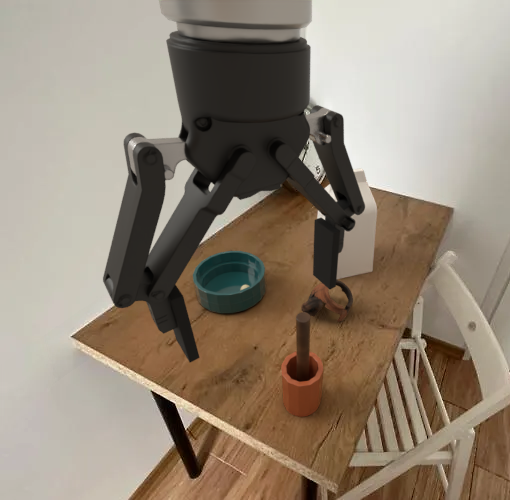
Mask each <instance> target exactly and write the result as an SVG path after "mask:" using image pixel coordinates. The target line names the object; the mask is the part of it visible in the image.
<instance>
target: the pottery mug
mask: <svg viewBox="0 0 510 500" xmlns="http://www.w3.org/2000/svg"><path fill="white" fill-rule="evenodd" d="M336 287H339V288H340V289H341V292H343V293H344V295H345V296H346V298H347V304H346V305H345V307H344V305H341V304H338V303H336V301H334V299H332V297H331V295H330V291H329V289H328V288H327V287H326V286H325V285H324V284H323V283H322V282H320V283H318V284H317V285H316V286H315V287H314V288H313V289H312V291H311V292H310V295H309V296H308V299H307V300H306V301H304V302H302V304H301V311H302V312H306V313H308V314H309V315H310V317H312V318H315V317H316V316H317V314H318V313H319V312H321V310H323V307H324V308H327V309H328V310H330V311H331V312H333V313H335V314H337V315H339V317H338V318H337V322H338V323H340V322H342V321H343V320H344V319H346V317H347V316H348V315H349V313H350V310H351V308H352V305H353V304H354V297H353V293H352V291H351V289H350V288H349V286H347V284H346V283H344V282H343V281H341V280H340V279H336ZM324 304H325V305H324Z"/></svg>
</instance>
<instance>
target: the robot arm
mask: <svg viewBox="0 0 510 500" xmlns="http://www.w3.org/2000/svg"><path fill="white" fill-rule="evenodd" d="M158 3H159V8H160V13H161V14H162V15H163V16H164V17H165V18H166V19H167V20H168V21H172V22H175V24H176V29H177V30H175V31H172V32H170V33H169V35H168V36H169V38H167V39H166V46H167V52H168V57H169V62H170V66H171V67H170V68H171V73H172V79H173V84H174V88H175V89H174V90H175V93H176V99H177V104H178V108H179V112H180V113H179V114H180V117H181V126H180V131H179V134H178V137H164V138H163V137H162V138H161V137H160V138H159V137H158V138H147V137H146V136H145V135H143V134H141V133H139V132H131V133H128V134H127V135H126V136H125V137H124V139H123V149H124V156H125V162H126V167H127V173H128V175H127V178H126V183H125V187H124V191H123V194H122V199H121V203H120V207H119V212H118V215H117V219H116V223H115V227H114V231H113V236H112V240H111V244H110V249H109V252H108V255H107V261H106V265H105V268H104V273H103V276H102V282H103V284H104V287H105V289H106V291H107V293H108V295H109V297H110V299H111V301H112V304H113V305H114V306H115V307H116V308H118V309H126V308H129V307H131V306H132V305H133V304H134V303H135V302H145V303H146V304H147V308H148V311H149V313H150V316H151V319H152V321H153V323H154V324H155V326H156V327H157V329H158V331H159V332H160V333H162V334H166V333H168V332H171V331H173V333H174V337H175V340H176V342H177V343H178V345H179V347H180V348H181V350H182V352H183V354H184V356H185V357H186V359H187V361H188V362H189V363H192V362H195V361H196V360H199V359H200V353H199V350H198V346H197V342H196V339H195V335H194V332H193V328H192V323H191V320H190V316H189V313H188V309H187V305H186V300H185V298H184V295H183V293H182V292H181V291H180V289H179V287H178V286H177V283H178V281H179V279H180V278H181V276H182V274H183V273H184V271H185V269H186V267H187V266H188V264H189V263H190V261H191V260H192V258H193V256H194V254H195V252H196V251H197V249H198V248H199V246H200V244H201V243H202V241H203V239H204V237H205V236H206V235H207V232H208V231H209V230H210V228H211V226H212V224H213V223H214V221H215V219H216V218H217V217H218V216H222V215H223V214H224V213H225V212H226V210H227V209H228V207H229V206H230V204H231V202H232V201H233V199H234V198H237V199H238V200H240V201H242V200H245V199H248V198H249V199H250V198H251V197H253V196H255V195H257V194H259V193H260V192H273V191H276V190H279V189H280V190H281V188H282V184H284V183H285V182H286V181H288V182H289V183H290V184H291V185H292V186H293V187H294V188H295V189H296V190H297V191H298V192H299V193H300V194H301V196H303V197H304V198H305V199H306V200H307V201H308V202H309V203H310V204H311V205H312V206H313V207H314V208H315V209H316V211H317V212H318V211H319V212H320V213H321V214H322V215H324V216H325V220H324V219H323V218H318V219H317V218H316V219H314V222H313V223H314V225H313V226H314V227H313V228H314V229H313V257H312V258H313V261H312V262H313V263H312V276H313V277H314V278H316V279H317V281H319V282H320V283H323V284H324V285H325V286H326V287H327V288H328V290H332V289H334V288H336V287H337V285H336V280H338V279H337V266H338V254H339V253H340V252H341V251H342V249H343V243H344V232H345V230H346V231H347V232H348V231H351V230H352V229H353V228H354V226H355V220H354V219H353V218H351V216H352V215H354V214H356V215H360V214H362V213H363V211H364V209H365V204H364V201H363V198H362V195H361V192H360V189H359V186H358V183H357V180H356V177H355V174H354V171H353V169H354V168H353V165H352V162H351V159H350V157H349V154H348V151H347V148H346V144H345V119H344V116H343V115H342V114H341V113H339V112H336V111H334V110H332V109H329V108H327V107H324V106H322V105H319V104H318V105H317V104H315V105H314V106H312V108H311V109H310V112H309V113H308V114H306V112H305V110H307V108H308V106H309V104H310V102H311V101H310V100H311V52H312V51H311V50H312V49H311V45H309V44H308V40H307V39H306V38H305V37H302V36H301V29H304V28H305V29H306V28H307V27H308V26H309V25H310V24H311V23H312V22H313V0H158ZM309 140H310V141H311V142H312V144H313V147H314V150H315V152H316V154H317V157H318V159H319V161H320V164H321V166H322V168H323V171H324V173H325V176H326V178H327V180H328V182H329V184H330V185H331V187H332V190H333V192H334V194H335V197H336V199H337V202H336V201H335V200H334V199H333V198H332V197H331V196H330V194H329V193H328V192H327V191H326V190H325V189H324V188H325V187H323V185H322V184H321V183H320V182H319V181H318V180H317V179H316V177H315V174H314V173H313V172H312V171H311V170H310V168H309V167H308V166H307V165H306V164H305V163H304V161H302V159H301V158H300V156H301V154H302V153H303V151H304V149H305V147H306V145H307V143H308V141H309ZM182 161H187V162H188V164H190V166H192V167H193V170H192V172H191V174H190V175H189V176H188V179H187V181H186V182H185V183H184V193H183V195H182V197H181V199H180V200H179V202H178V203H177V205H176V207H175V208H174V211H173V212H172V214H171V216H170V218H169V219H168V221H167V222H166V224H165V226H164V228H163V230H162V231H161V232H160V234H159V236H158V238H157V240H156V241H155V243H154V244H153V241H154V237H155V233H156V230H157V227H158V223H159V220H160V215H161V212H162V209H163V205H164V201H165V196H166V187H167V184H166V181H170V180H173V178H174V177H175V174H176V169H177V166H178V165H179V163H181V162H182ZM211 184H212V185H213V186H212V188H211V190H210V185H211ZM152 245H153V247H152Z"/></svg>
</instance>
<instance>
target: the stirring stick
mask: <svg viewBox="0 0 510 500" xmlns="http://www.w3.org/2000/svg"><path fill="white" fill-rule="evenodd" d="M295 332H296V333H295V337H296V338H295V343H296V344H295V346H296V350H295V351H296V354H297V381H299V382H302V381H309V352H311V349H310V347H311V315H309V314H308V313H306V312H303V311H302V312H299V313H297V315H296V316H295Z"/></svg>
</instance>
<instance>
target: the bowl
mask: <svg viewBox="0 0 510 500" xmlns="http://www.w3.org/2000/svg"><path fill="white" fill-rule="evenodd" d="M198 263H199V264H197V265H196V267H194V271H193V272H192V281H193V285H194V289H195V294H196V298H197V301H198V302H199V304H200V305H201V306H202V307H203V308H205V309H206V310H208V311H210V312H214V313H218V314H235V313H239V312H243V311H246V310H248V309H250V308H253V307H254V306H255V305H257V304H258V303H259V302H260V301H262V299H263V297H264V295H265V294H266V291H267V276H266V275H267V274H266V267H265V264H264V261H263V260H261V259H260V258H259V256H257V255H255V254H253V253H251V252H249V251H243V250H227V251H221V252H217V253H215V254H212V255H209V256H208V257H206V258H204V259H202V260H201V261H200V262H198ZM243 285H249V287H247V288H245V289H243V290H240V289H241V287H242V286H243Z"/></svg>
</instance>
